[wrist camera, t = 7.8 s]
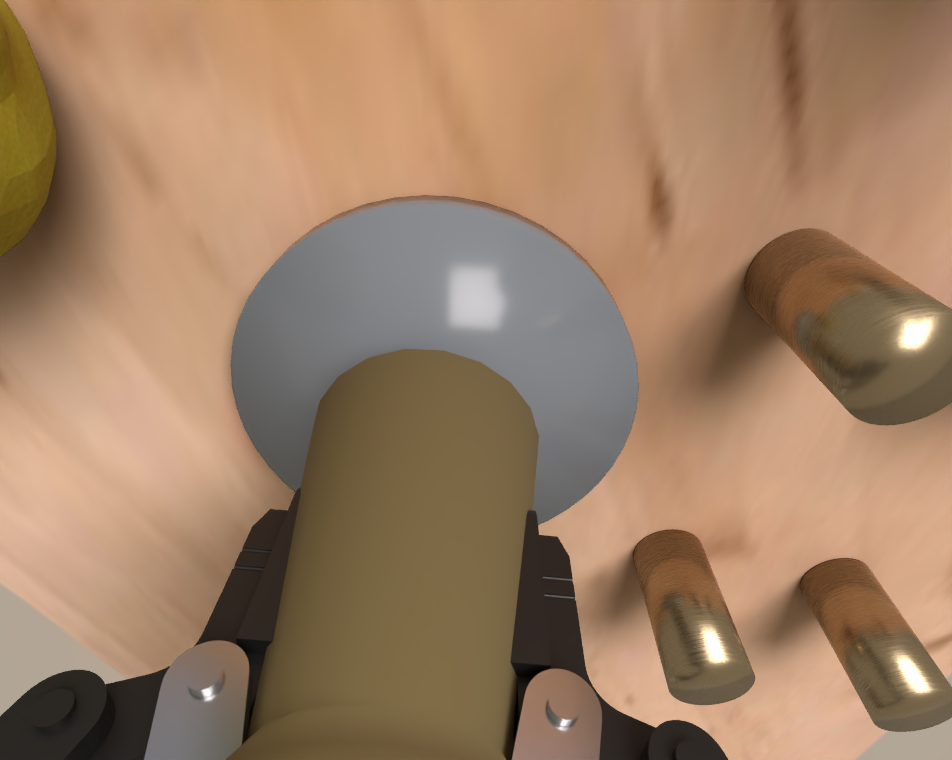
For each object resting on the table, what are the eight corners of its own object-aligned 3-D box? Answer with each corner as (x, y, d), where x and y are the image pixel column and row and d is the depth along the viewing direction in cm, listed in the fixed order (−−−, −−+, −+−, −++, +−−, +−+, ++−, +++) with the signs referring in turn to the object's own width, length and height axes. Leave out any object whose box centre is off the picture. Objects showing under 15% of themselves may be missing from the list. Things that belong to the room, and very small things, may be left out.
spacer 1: (653, 583, 22) (691, 713, 18) (620, 548, 21) (653, 678, 17) (713, 557, 21) (768, 688, 17) (682, 519, 20) (732, 649, 16)
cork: (571, 487, 16) (688, 1164, 6) (386, 545, 17) (266, 1162, 8) (480, 310, 13) (455, 1093, 3) (266, 400, 14) (-150, 1112, 5)
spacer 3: (814, 608, 23) (886, 739, 19) (790, 576, 22) (861, 707, 18) (879, 584, 22) (970, 716, 18) (857, 549, 21) (949, 681, 17)
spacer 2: (767, 334, 16) (865, 444, 12) (729, 267, 15) (821, 362, 11) (859, 283, 15) (999, 383, 11) (825, 208, 14) (966, 287, 10)
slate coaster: (420, 565, 22) (418, 586, 21) (163, 360, 17) (146, 377, 16) (700, 417, 18) (710, 437, 17) (466, 88, 13) (464, 93, 12)
